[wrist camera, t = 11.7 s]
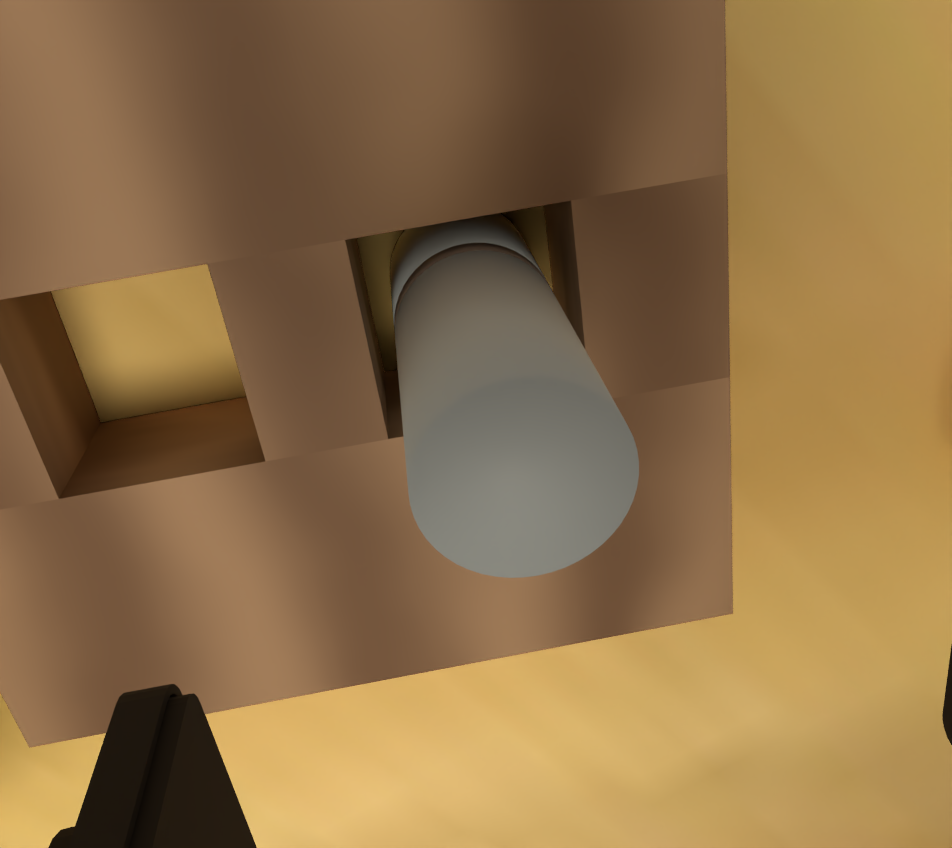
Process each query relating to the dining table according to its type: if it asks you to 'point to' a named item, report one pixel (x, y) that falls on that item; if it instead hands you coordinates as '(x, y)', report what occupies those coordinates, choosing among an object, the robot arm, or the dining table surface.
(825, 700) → the dining table surface
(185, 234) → the board
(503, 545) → the peg
